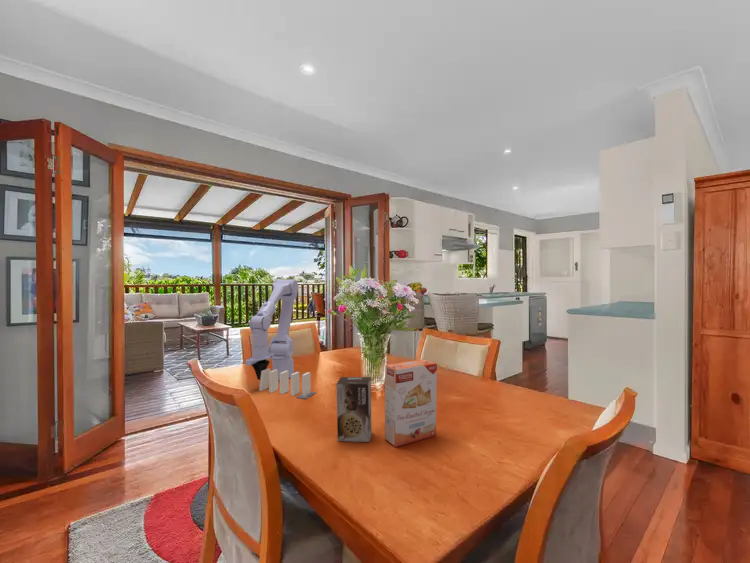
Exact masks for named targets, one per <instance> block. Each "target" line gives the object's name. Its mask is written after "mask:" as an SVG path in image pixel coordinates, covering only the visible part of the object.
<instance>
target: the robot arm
mask: <svg viewBox="0 0 750 563" xmlns="http://www.w3.org/2000/svg"><path fill="white" fill-rule="evenodd" d="M298 292H299V285H298V281H297V280H296V279H294V278H293V279H279V278H277V279H275V280H274V281H273V283H272V292H271V294H270V296H269V297H268V300H267V301H265V302H263V304H262V305H261V306H260V308H259V310H258V311H257V312H256V314H255V315H253V316H252V317H250V319H249V322H248V325H249V326H248V327H249V328H250V334H251V336H252V356H251V357H249V358H248V359H245V363H244V364H245V366H251V367H252V368H253V370H254V372H255V376H256V379H257V380H259V381H260V378H261V371H262V370H265V369H268V366H269V365H270V359H272V360H271V361H272V371H273V370H275V369H277V370H278V381H280V373H281V372H284V371H289V379H291V374H293V373H295V364H294V358H293V357H292V355H293V354H294V340H293V339H292V338H291V337H290V336H289V334H290V329H291V322H292V315H293V310H294V304H295V300H296V299H297V297H298ZM280 300H282V303H281V307H280V315H279V320H278V325H277V326H278V327H277V331H276V332H277V333H276V335H274V336H273V337H272V338H270V339H271V340H270V342H269V345H268V330H269V329H270V328H271V322H272V317H273V315H274V314H275V312H276V309H277V307H276V305H277V304H278V302H279V301H280ZM268 359H269V360H268Z"/></svg>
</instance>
